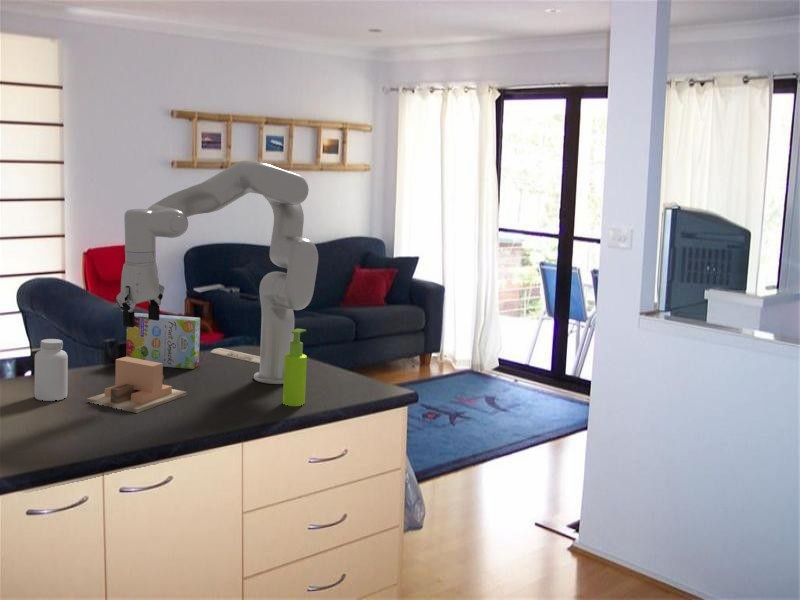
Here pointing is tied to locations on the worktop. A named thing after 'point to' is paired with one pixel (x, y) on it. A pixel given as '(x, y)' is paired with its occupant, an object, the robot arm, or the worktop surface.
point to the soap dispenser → (295, 372)
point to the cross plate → (140, 379)
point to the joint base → (123, 399)
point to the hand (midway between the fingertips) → (141, 323)
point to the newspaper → (236, 355)
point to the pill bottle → (51, 371)
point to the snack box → (165, 340)
